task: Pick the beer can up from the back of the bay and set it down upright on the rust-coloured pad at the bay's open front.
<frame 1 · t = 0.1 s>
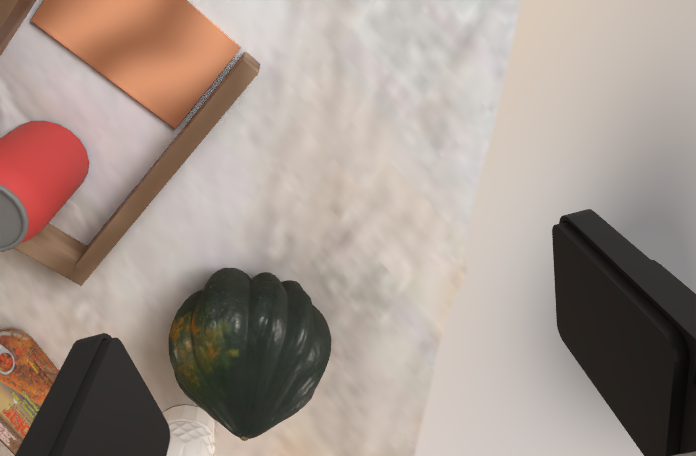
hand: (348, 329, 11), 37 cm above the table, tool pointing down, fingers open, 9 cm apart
squash: (256, 309, 56), on the table
bay: (88, 104, 44), on the table
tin: (41, 366, 57), on the table
beer can: (52, 154, 46), resting in bay
white cup: (186, 423, 63), on the table
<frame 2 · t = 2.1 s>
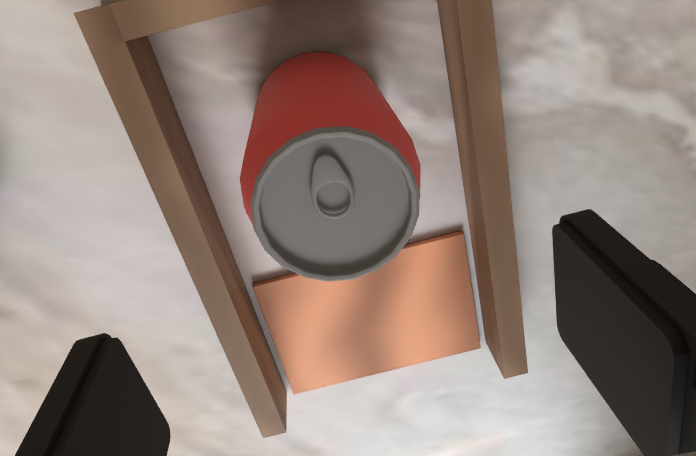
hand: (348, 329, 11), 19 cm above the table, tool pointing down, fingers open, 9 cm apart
bay: (345, 214, 31), on the table
beer can: (319, 113, 28), resting in bay
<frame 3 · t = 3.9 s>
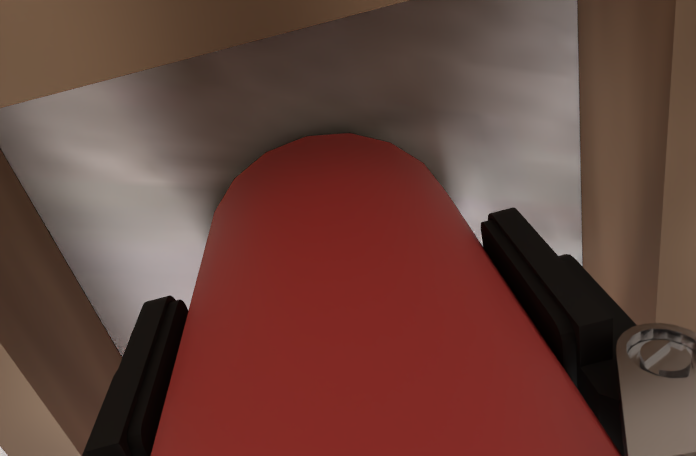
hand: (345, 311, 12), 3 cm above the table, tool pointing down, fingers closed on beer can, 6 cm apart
bay: (377, 393, 18), on the table
beer can: (332, 237, 15), resting in bay, touching gripper
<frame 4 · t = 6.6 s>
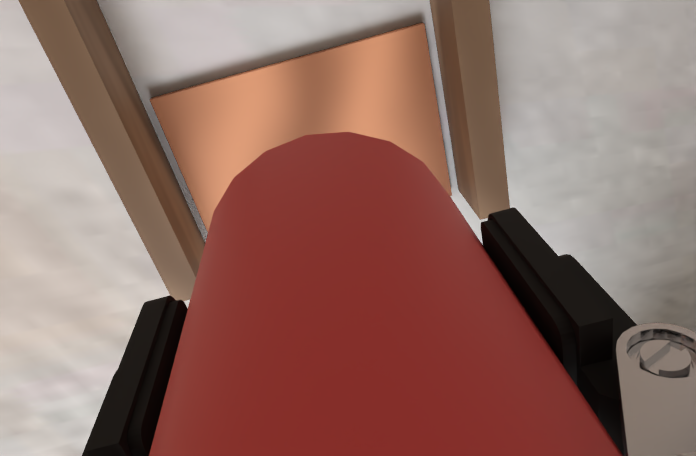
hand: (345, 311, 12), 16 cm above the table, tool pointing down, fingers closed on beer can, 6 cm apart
beer can: (332, 236, 15), point 13 cm above the table, touching gripper
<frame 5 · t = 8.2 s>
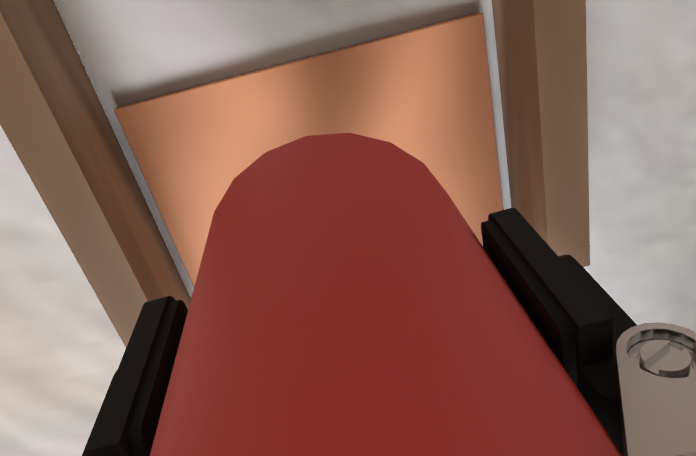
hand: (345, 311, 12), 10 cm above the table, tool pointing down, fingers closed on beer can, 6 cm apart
beer can: (332, 237, 15), point 6 cm above the table, touching gripper
when the fingers open (5 cm above the table, at t = 9.6 s): beer can drops 1 cm, resting on bay.
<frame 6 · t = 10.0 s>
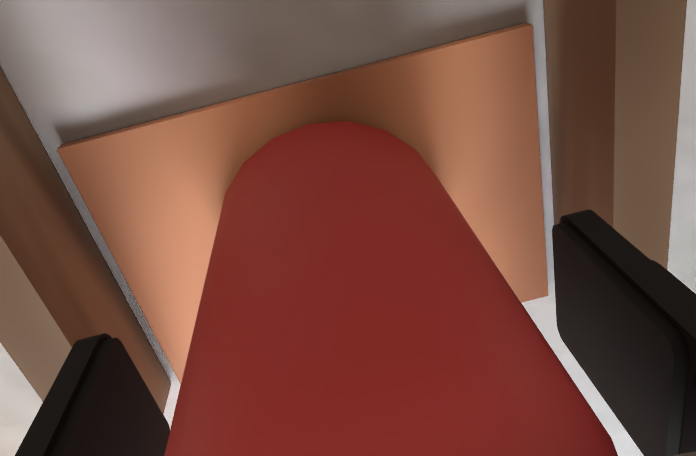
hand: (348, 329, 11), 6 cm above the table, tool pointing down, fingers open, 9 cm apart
beer can: (332, 218, 16), resting on bay
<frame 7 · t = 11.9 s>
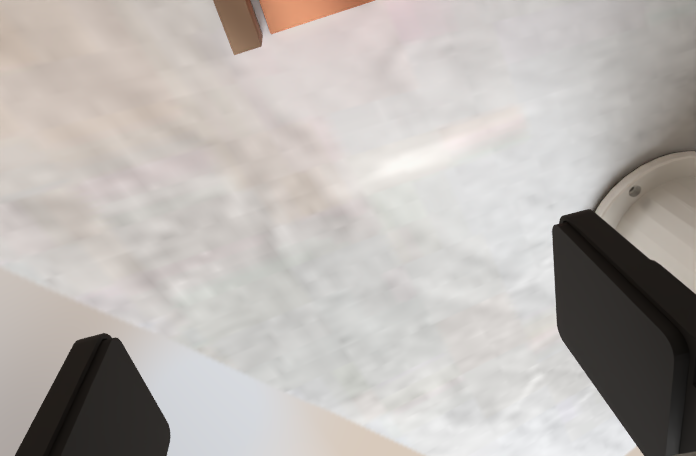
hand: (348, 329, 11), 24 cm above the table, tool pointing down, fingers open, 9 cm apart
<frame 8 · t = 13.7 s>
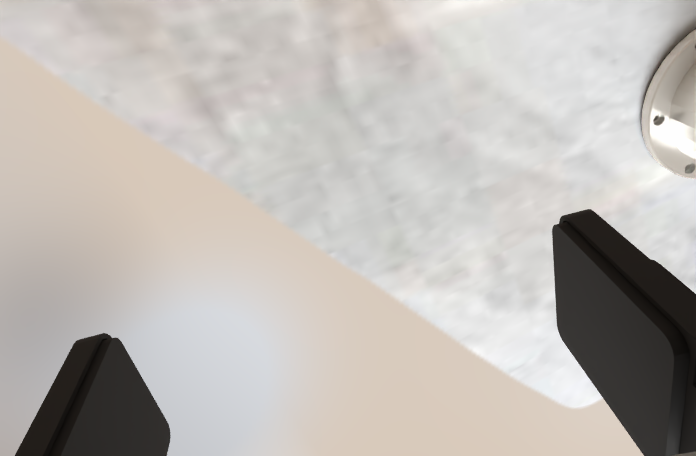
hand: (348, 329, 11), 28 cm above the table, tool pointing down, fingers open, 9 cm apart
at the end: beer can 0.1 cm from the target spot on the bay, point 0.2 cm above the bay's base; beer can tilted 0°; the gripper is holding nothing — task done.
